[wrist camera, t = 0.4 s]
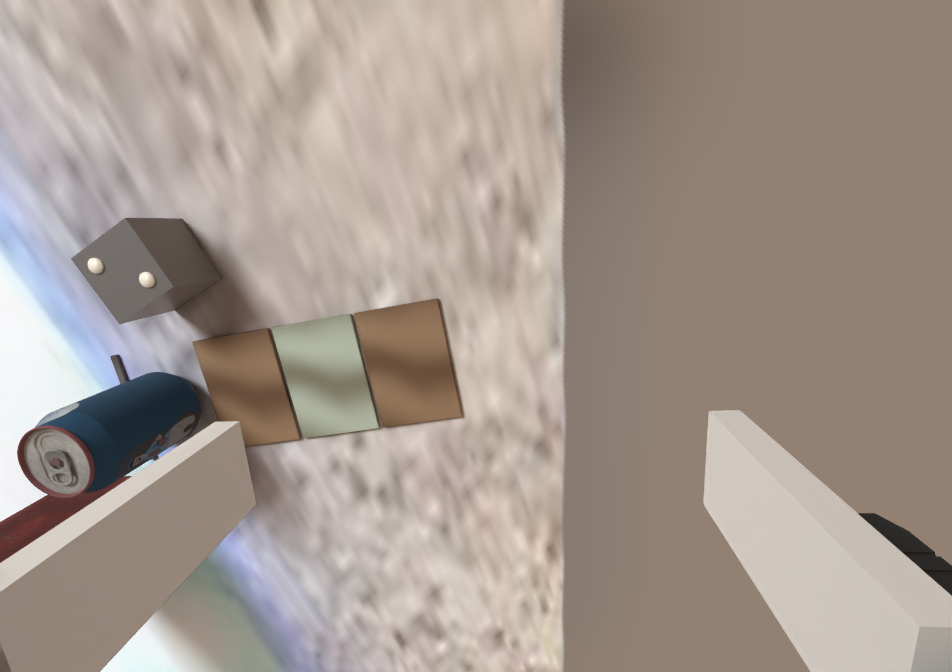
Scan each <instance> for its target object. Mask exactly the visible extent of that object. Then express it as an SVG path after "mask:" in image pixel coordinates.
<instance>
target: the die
mask: <svg viewBox="0 0 952 672" xmlns="http://www.w3.org/2000/svg"><path fill="white" fill-rule="evenodd" d="M71 259H72V261H73V262H74V263H75V265H76V266H77V267H78V269H79V270H80V271H81V273H82V274H83V275H84V277H85V278H86V279H87V281H88V282H89V284H90V285H91V286H92V288H93V289H94V290H95V292H96V293H97V294H98V296H99V297H100V298H101V300H102V301H103V302H104V304H105V305H106V306H107V308H108V309H109V311H110V312H111V313H112V315H113V316H114V317H115V319H116V320H117V321H118V323H119V324H122V323H126V322H130V321H134V320H138V319H142V318H146V317H150V316H154V315H158V314H162V313H166V312H170V311H174V310H175V309H177V308H178V307H180V306H181V305H183V304H184V303H186V302H187V301H189V300H190V299H192V298H193V297H195V296H196V295H198V294H199V293H201V292H202V291H204V290H205V289H207V288H208V287H209V286H211V285H212V284H214V283H215V282H217V281H218V280H220V279H221V278H222V277H221V275H220V274H219V272H218V271H217V269H216V268H215V266H214V265H213V263H212V262H211V261H210V259H209V258H208V256H207V255H206V253H205V252H204V250H203V249H202V247H201V246H200V245H199V243H198V242H197V240H196V239H195V237H194V236H193V234H192V233H191V231H190V230H189V229H188V227H187V226H186V224H185V223H184V221H183V220H182V219H163V218H124V219H123V220H122V221H120V222H119V223H118V224H116V225H115V226H114V227H112V228H111V229H110V230H108V231H107V232H106V233H104V234H103V235H102V236H101V237H99V238H98V239H97V240H95V241H94V242H93V243H91V244H90V245H89V246H87V247H86V248H85V249H83V250H82V251H81V252H79V253H78V254H77V255H75V256H74V257H73V258H71Z"/></svg>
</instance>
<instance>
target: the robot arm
mask: <svg viewBox="0 0 952 672" xmlns="http://www.w3.org/2000/svg"><path fill="white" fill-rule="evenodd" d="M705 470H706V471H705V486H704V505H705V507H706V509H707V510H708V512H709V513H710V515H711V516H712V518H713V520H714V521H715V523H716V524H717V526H718V527H719V529H720V531H721V532H722V534H723V535H724V537H725V538H726V540H727V541H728V543H729V544H730V546H731V548H732V549H733V551H734V552H735V554H736V555H737V557H738V559H739V560H740V562H741V563H742V565H743V566H744V568H745V570H746V571H747V573H748V574H749V576H750V578H751V579H752V581H753V582H754V584H755V585H756V587H757V588H758V590H759V591H760V593H761V595H762V596H763V598H764V599H765V601H766V602H767V604H768V606H769V607H770V609H771V610H772V612H773V614H774V615H775V616H776V618H777V620H778V621H779V623H780V624H781V626H782V628H783V629H784V631H785V632H786V634H787V635H788V637H789V639H790V640H791V642H792V643H793V645H794V646H795V648H796V649H797V651H798V652H799V654H800V656H801V657H802V659H803V660H804V662H805V664H806V665H807V667H808V668H809V670H810V671H811V672H952V566H951V565H950V564H949V563H947V562H946V561H945V560H944V559H942V558H941V557H936V555H935V552H934V551H932V550H931V549H930V548H929V547H928V546H926V545H925V544H924V543H923V542H921V541H920V540H919V539H918V538H916V537H915V536H914V535H913V534H911V533H910V532H909V531H907V530H906V529H904V528H902V527H900V526H898V525H896V524H894V523H892V522H890V521H888V520H886V519H884V518H883V517H881V516H879V515H877V514H874V513H872V514H871V513H865V514H864V513H856V512H855V511H854V510H853V509H852V508H851V507H849V506H848V505H847V504H846V503H845V502H844V501H843V500H841V499H840V498H839V497H838V496H837V495H836V494H835V493H834V492H832V491H831V490H830V489H829V488H828V487H827V486H826V485H824V484H823V483H822V482H821V481H820V480H819V479H818V478H816V477H815V476H814V475H813V474H812V473H811V472H810V471H808V470H807V469H806V468H805V467H804V466H803V465H802V464H800V463H799V462H798V461H797V460H796V459H794V457H792V456H791V455H790V454H789V453H788V452H787V451H786V450H784V449H783V448H782V447H781V446H780V445H779V444H778V443H776V442H775V441H774V440H773V439H772V438H771V437H770V436H768V435H767V434H766V433H765V432H764V431H763V430H761V429H760V428H759V427H758V426H757V425H756V424H755V423H753V422H752V421H751V420H750V419H749V418H748V417H747V416H745V415H744V414H743V413H742V412H741V411H739V410H737V411H709V418H708V436H707V452H706V469H705ZM255 505H256V500H255V495H254V490H253V485H252V481H251V476H250V471H249V466H248V461H247V456H246V451H245V446H244V441H243V436H242V431H241V426H240V421H226V422H214V423H212V424H211V425H209V426H208V427H206V428H205V429H203V430H202V431H200V432H199V433H197V434H196V435H194V436H193V437H191V438H190V439H188V440H187V441H185V442H184V443H182V444H181V445H179V446H178V447H176V448H174V449H173V450H171V451H170V452H168V453H167V454H165V455H164V456H162V457H161V458H159V459H158V460H156V461H155V462H153V463H152V464H150V465H149V466H147V467H146V468H144V469H143V470H141V471H140V472H138V473H136V474H135V475H133V476H132V477H130V478H129V479H127V480H126V481H124V482H123V483H121V484H120V485H118V486H117V487H115V488H114V489H112V490H111V491H109V492H108V493H106V494H105V495H103V496H102V497H100V498H98V499H97V500H95V501H94V502H92V503H91V504H89V505H88V506H86V507H85V508H83V509H82V510H80V511H79V512H77V513H76V514H74V515H73V516H71V517H70V518H68V519H67V520H65V521H64V522H62V523H61V524H59V525H57V526H56V527H54V528H53V529H51V530H50V531H48V532H47V533H45V534H44V535H42V536H41V537H39V538H38V539H36V540H35V541H33V542H32V543H30V544H29V545H27V546H26V547H24V548H23V549H21V550H19V551H18V552H16V553H15V554H13V555H12V556H10V557H9V558H7V559H6V560H4V561H3V562H1V563H0V672H100V671H101V670H102V669H103V668H104V667H105V666H106V665H107V664H108V662H109V661H110V660H111V659H112V658H113V657H114V656H115V655H116V654H117V653H118V652H119V651H120V650H121V649H122V647H123V646H124V645H125V644H126V643H127V642H128V641H129V640H130V639H131V638H132V637H133V636H134V635H135V634H136V632H137V631H138V630H139V629H140V628H141V627H142V626H143V625H144V624H145V623H146V622H147V621H148V620H149V619H150V617H151V616H152V615H153V614H154V613H155V612H156V611H157V610H158V609H159V608H160V607H161V606H162V605H163V604H164V602H165V601H166V600H167V599H168V598H169V597H170V596H171V595H172V594H173V593H174V592H175V591H176V590H177V589H178V588H179V586H180V585H181V584H182V583H183V582H184V581H185V580H186V579H187V578H188V577H189V576H190V575H191V574H192V573H193V571H194V570H195V569H196V568H197V567H198V566H199V565H200V564H201V563H202V562H203V561H204V560H205V559H206V558H207V556H208V555H209V554H210V553H211V552H212V551H213V550H214V549H215V548H216V547H217V546H218V545H219V544H220V543H221V541H222V540H223V539H224V538H225V537H226V536H227V535H228V534H229V533H230V532H231V531H232V530H233V529H234V528H235V526H236V525H237V524H238V523H239V522H240V521H241V520H242V519H243V518H244V517H245V516H246V515H247V514H248V513H249V512H250V510H251V509H252V508H253V507H254V506H255Z"/></svg>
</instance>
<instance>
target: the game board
mask: <svg viewBox="0 0 952 672" xmlns="http://www.w3.org/2000/svg"><path fill="white" fill-rule="evenodd" d="M354 316H355V320H356V324H357V328H358V332H359V336H360V339H361V343H362V347H363V351H364V355H365V359H366V363H367V367H368V371H369V375H370V379H371V383H372V387H373V391H374V395H375V399H376V403H377V407H378V411H379V415H380V419H381V423H382V427H390V426H397V425H404V424H411V423H419V422H426V421H433V420H440V419H448V418H455V417H462V413H461V408H460V403H459V398H458V394H457V389H456V384H455V379H454V374H453V370H452V365H451V360H450V355H449V350H448V346H447V341H446V336H445V331H444V327H443V322H442V317H441V312H440V307H439V303H438V299H432V300H426V301H421V302H415V303H409V304H404V305H398V306H392V307H386V308H381V309H375V310H369V311H364V312H358V313H354ZM271 330H272V333H273V336H274V340H275V343H276V347H277V350H278V354H279V357H280V360H281V364H282V367H283V371H284V374H285V377H286V381H287V384H288V388H289V391H290V394H291V398H292V401H293V405H294V408H295V412H296V415H297V418H298V422H299V425H300V429H301V432H302V435H303V438H310V437H318V436H325V435H332V434H339V433H346V432H354V431H361V430H368V429H375V428H379V423H378V419H377V415H376V411H375V407H374V403H373V399H372V395H371V391H370V387H369V383H368V379H367V375H366V371H365V367H364V363H363V359H362V355H361V351H360V348H359V344H358V340H357V336H356V332H355V328H354V324H353V320H352V316H351V314H347V315H341V316H335V317H330V318H324V319H318V320H312V321H307V322H301V323H295V324H290V325H284V326H278V327H273V328H271ZM193 345H194V348H195V351H196V354H197V357H198V360H199V363H200V366H201V369H202V372H203V375H204V378H205V381H206V384H207V387H208V390H209V393H210V396H211V399H212V402H213V405H214V408H215V411H216V414H217V417H218V420H219V422H226V421H240V426H241V431H242V436H243V441H244V446H253V445H260V444H267V443H274V442H281V441H289V440H296V439H300V438H301V436H300V433H299V429H298V426H297V422H296V419H295V416H294V412H293V409H292V405H291V402H290V399H289V395H288V392H287V388H286V385H285V382H284V378H283V375H282V371H281V368H280V365H279V361H278V358H277V354H276V351H275V348H274V344H273V341H272V337H271V334H270V331H269V328H267V329H261V330H256V331H250V332H244V333H239V334H233V335H227V336H221V337H216V338H210V339H204V340H199V341H194V342H193ZM110 357H111V360H112V362H113V365H114V368H115V370H116V373H117V376H118V378H119V381H120V384H123V383H125V382H128V379H127V376H126V374H125V371H124V368H123V366H122V363H121V360H120V358H119V355H113V356H110ZM155 458H157V457H156V456H155V457H153V458H152V459H155ZM150 460H151V459H150Z"/></svg>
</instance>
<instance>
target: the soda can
mask: <svg viewBox="0 0 952 672" xmlns="http://www.w3.org/2000/svg"><path fill="white" fill-rule="evenodd" d="M200 412H201V401H200V398H199V395H198V393H197V391H196V390H195V388H194V387H193V386H192V385H191V384H190V383H189V382H188V381H186V380H185V379H183V378H181V377H178V376H175V375H172V374H168V373H163V372H153V373H148V374H145V375H143V376H140V377H138V378H135V379H133V380H130V381H128V382H125V383H123V384H120V385H118V386H115V387H113V388H110V389H108V390H106V391H103V392H101V393H98V394H96V395H93V396H91V397H88V398H86V399H83V400H81V401H78V402H76V403H73V404H71V405H68V406H66V407H64V408H61V409H59V410H56V411H54V412H51V413H49V414H48V415H46V416H45V417H44V418H43V419H42V420H41V421H40V422H39V423H38V424H37V425H36V427H35V428H34V429H32V430H30V431H28V432H27V433H26V434H25V435H24V436H23V437H22V439H21V440H20V443H19V445H18V451H17V455H18V461H19V464H20V466H21V469H22V471H23V473H24V474H25V476H26V477H27V478H28V480H29V481H30V482H31V483H32V484H33V485H34V486H35V487H37V488H38V489H39V490H41V491H42V492H44V493H46V494H48V495H51V496H54V497H58V498H71V497H75V496H77V495H80V494H81V493H89V492H95V491H99V490H102V489H104V488H106V487H107V486H109V485H111V484H112V483H114V482H115V481H117V480H118V479H120V478H122V477H123V476H125V475H126V474H128V473H129V472H131V471H133V470H134V469H136V468H137V467H139V466H141V465H142V464H144V463H145V462H147V461H148V460H150V459H152V458H153V457H155V456H156V455H158V454H160V453H161V452H163V451H164V450H166V449H167V448H169V447H171V446H172V445H174V444H175V443H177V442H179V441H180V440H182V439H183V438H185V437H186V436H188V435H189V434H190V433H191V432H192V431H193V430H194V428H195V427H196V425H197V423H198V420H199V416H200Z"/></svg>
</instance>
